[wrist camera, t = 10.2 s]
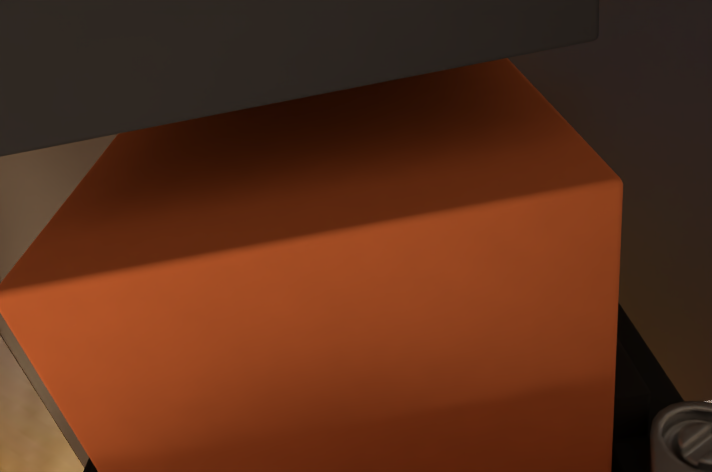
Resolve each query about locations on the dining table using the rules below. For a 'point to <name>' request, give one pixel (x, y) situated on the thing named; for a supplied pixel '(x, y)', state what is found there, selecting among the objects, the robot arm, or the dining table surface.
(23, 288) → the orange block
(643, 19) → the board
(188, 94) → the black block
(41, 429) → the dining table surface
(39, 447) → the dining table surface
